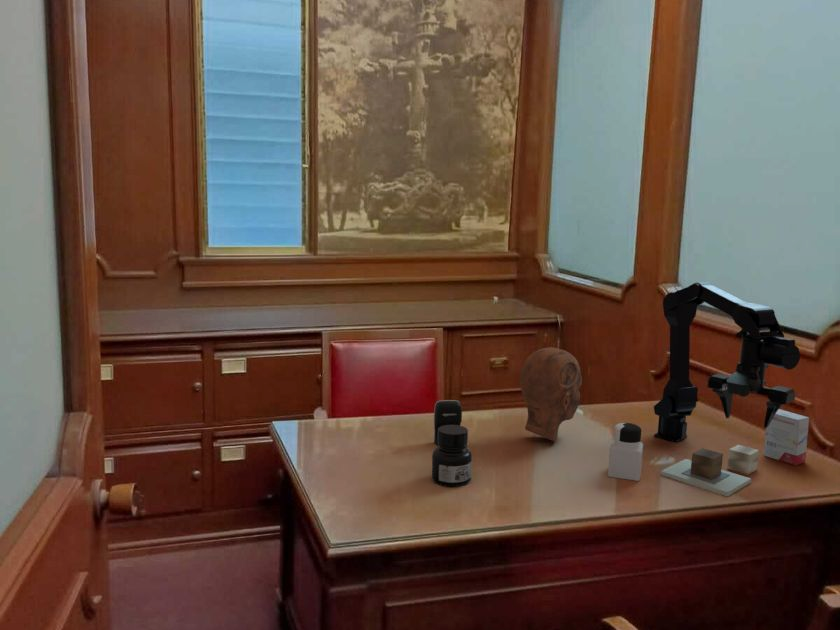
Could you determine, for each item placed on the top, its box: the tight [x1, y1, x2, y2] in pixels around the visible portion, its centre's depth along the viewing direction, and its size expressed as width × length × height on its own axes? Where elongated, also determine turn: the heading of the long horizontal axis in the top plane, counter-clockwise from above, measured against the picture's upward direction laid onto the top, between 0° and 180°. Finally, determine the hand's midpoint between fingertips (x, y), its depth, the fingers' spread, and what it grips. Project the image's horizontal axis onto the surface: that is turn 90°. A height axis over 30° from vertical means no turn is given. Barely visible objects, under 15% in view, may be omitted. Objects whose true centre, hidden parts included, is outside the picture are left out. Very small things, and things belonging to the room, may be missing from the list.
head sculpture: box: [519, 346, 583, 442], centre depth 196 cm, size 16×18×25 cm
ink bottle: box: [431, 425, 473, 487], centre depth 168 cm, size 10×9×12 cm
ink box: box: [763, 408, 810, 466], centre depth 186 cm, size 9×5×12 cm, turn 33°
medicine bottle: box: [607, 422, 644, 482], centre depth 174 cm, size 7×7×12 cm
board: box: [660, 458, 752, 497], centre depth 173 cm, size 16×12×1 cm
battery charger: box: [433, 399, 463, 445], centre depth 191 cm, size 7×4×11 cm, turn 98°
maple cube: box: [727, 444, 760, 475], centre depth 180 cm, size 5×5×5 cm
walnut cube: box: [691, 447, 724, 480], centre depth 173 cm, size 5×5×5 cm
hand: (746, 422), depth 178 cm, fingers open, 9 cm apart
